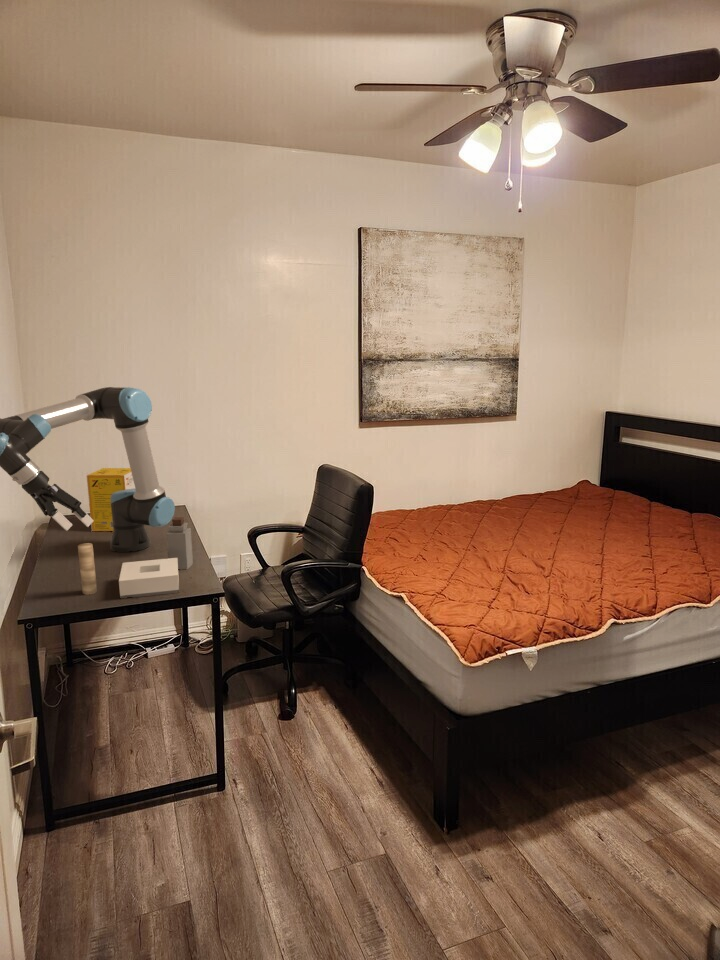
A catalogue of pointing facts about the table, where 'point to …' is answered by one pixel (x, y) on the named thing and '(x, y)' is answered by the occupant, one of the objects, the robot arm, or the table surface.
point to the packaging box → (106, 494)
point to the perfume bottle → (180, 543)
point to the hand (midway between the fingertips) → (79, 526)
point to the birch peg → (87, 568)
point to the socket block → (149, 578)
